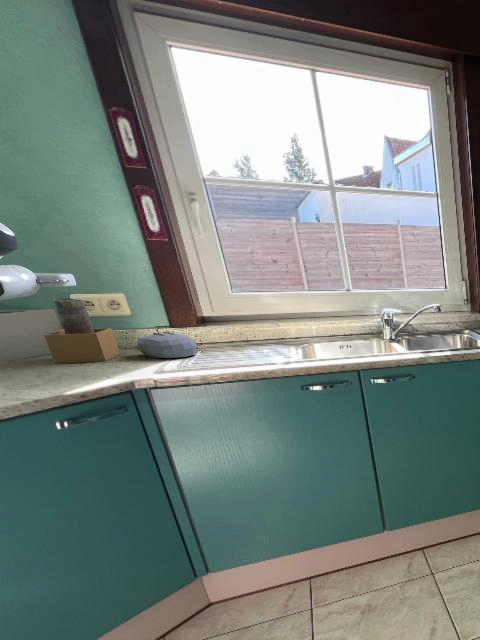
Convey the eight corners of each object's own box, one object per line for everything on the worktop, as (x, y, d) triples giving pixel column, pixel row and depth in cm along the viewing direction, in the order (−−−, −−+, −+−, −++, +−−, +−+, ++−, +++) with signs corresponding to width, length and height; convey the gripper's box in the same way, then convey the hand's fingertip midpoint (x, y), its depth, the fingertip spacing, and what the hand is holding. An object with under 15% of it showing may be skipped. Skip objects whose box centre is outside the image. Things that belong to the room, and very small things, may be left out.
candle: (89, 354, 178) (68, 297, 170) (109, 355, 178) (89, 298, 170) (67, 358, 171) (45, 299, 163) (88, 359, 171) (66, 299, 163)
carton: (54, 363, 166) (43, 335, 163) (72, 356, 177) (62, 329, 174) (105, 360, 172) (96, 333, 168) (120, 353, 183) (111, 328, 179)
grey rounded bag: (133, 355, 180) (163, 362, 172) (125, 332, 177) (155, 338, 169) (180, 349, 193) (210, 355, 185) (173, 328, 190) (204, 332, 182)
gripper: (59, 270, 146) (80, 268, 157) (-39, 268, 137) (-10, 266, 149) (67, 292, 148) (87, 289, 159) (-29, 292, 140) (-1, 288, 151)
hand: (40, 278), depth 154 cm, fingers open, 8 cm apart
